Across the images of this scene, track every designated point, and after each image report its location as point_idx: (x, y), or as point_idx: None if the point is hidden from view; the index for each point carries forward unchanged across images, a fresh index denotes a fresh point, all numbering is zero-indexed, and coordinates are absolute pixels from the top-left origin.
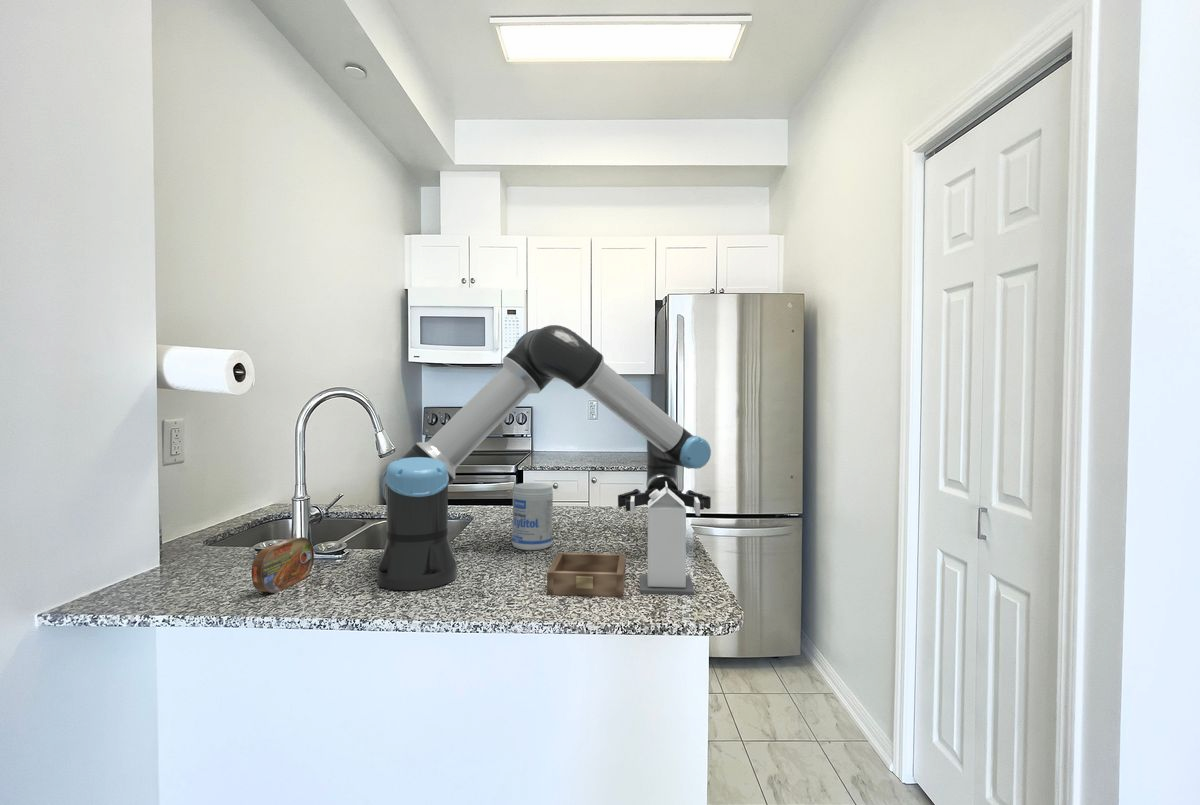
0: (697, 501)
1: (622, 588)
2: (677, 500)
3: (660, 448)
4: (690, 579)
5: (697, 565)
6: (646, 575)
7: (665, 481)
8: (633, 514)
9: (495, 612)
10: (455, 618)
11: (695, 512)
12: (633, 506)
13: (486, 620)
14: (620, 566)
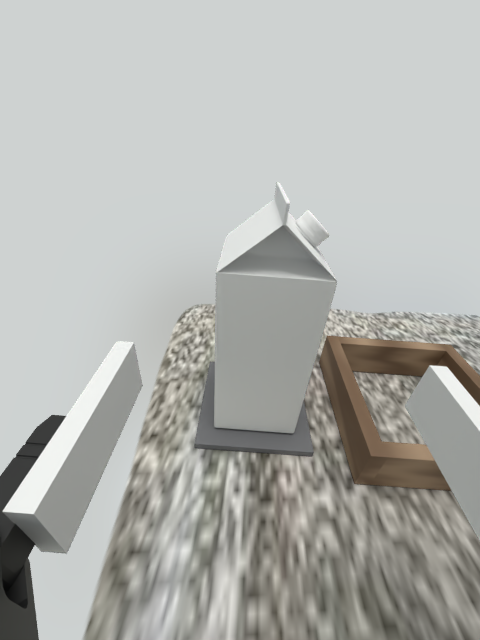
0: (113, 362)
1: (322, 352)
2: (246, 222)
3: None
4: (201, 415)
5: (126, 597)
6: (296, 440)
7: (289, 201)
8: (406, 406)
9: (446, 328)
10: (471, 319)
11: (123, 422)
12: (421, 382)
13: (437, 315)
14: (345, 368)
